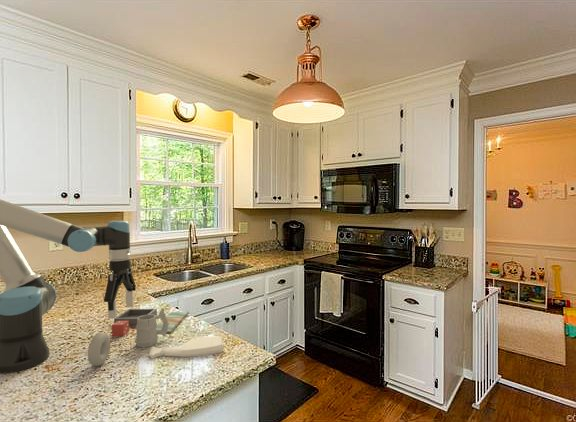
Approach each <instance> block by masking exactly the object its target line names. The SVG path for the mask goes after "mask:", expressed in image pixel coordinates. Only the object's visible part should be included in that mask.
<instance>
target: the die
mask: <svg viewBox="0 0 576 422" xmlns="http://www.w3.org/2000/svg"><path fill="white" fill-rule="evenodd" d="M129 327H130V326H129V321H117V322H115V323H114V322H113V323H112V324H111V336H112V337H124V336H126V335H127V334H128V333H129V332H130V328H129Z"/></svg>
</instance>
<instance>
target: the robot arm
mask: <svg viewBox="0 0 576 422" xmlns="http://www.w3.org/2000/svg"><path fill="white" fill-rule="evenodd" d="M8 228H10V229H11V230H15V231H17V232H22V233H25V234H28V235H32V236H35V237H37V238H39V239H43V240H45V241H46V240H47V241H50V242H53V243H55V244H60V245H62V246H65V247H68V248H70V250H72V251H74V252H77V253H83V252H87V251H90V250H92V249H93V247H103V246H108V259H109V261H108V263H109V266H108V267H109V270H110V271H111V272H112V274H108V275H107V285H106V288H105V293H104V298H103V302H104V303H107V319H109V320H111V319H113V320H114V319H115V318H117V317H118V315H117V313H118V312H117V301H116V298H117V294H118V291H119V289H120V286H121V285H123V287H125V290H126V291H125V306H126V308H133V307H134V291H135V292H136V287H137V286H136V281H135V279H134V276H133V272H132V271H133V270H132V268H131V267H132V266H131V264H132V263H131V252H132V251H131V237H130V236H131V232H130V223H129V222H128V221H127V220H111V221H108V223H107V225H106V226H86V227H85V226H78V225H75V224H72V223H70V222H68V221H67V222H66V221H64V220H60V219H58V218H55V217H52V216H49V215H45V214H44V213H40V212H39V211H38V212H37V211H34V210H32V209H29V208H26V207H24V206H20V205H17V204H15V203H12V202H9V201H6V200H3V199H0V278H1V280H2V281H3V283H4V284H5V288H4V290H3V292H2V293H0V374H10V373H15V372H16V373H17V372H20V371H24V370H27V369H29V368H33V367H35V366H38V365H40V364H42V363H43V362H45V361H46V360H47V359H48V358H49V357H50V348H49V346H48V344H47V342H46V340H45V336H44V335H43V316H44V315H45V314H46V313H47V312H49V311H50V310H51V309H52V308H53V306H54V304H55V303H56V300H57V291H56V288H55V286H54V285H52V284H51V283H49V282H48V281H46V280H45V278H44V277H43V275H42V274H41V273H36V272H35V271H34V270H33V269H32V267H31V265H30V264H29V262H28V260H27V259H26V257H25V255H24V254H23V252H22V250H21V248H20V247H19V246H18V244H17V242H16V240H15V239H14V237H13V236H12V234H11V232H10V231H9V229H8Z"/></svg>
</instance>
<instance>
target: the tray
mask: <svg viewBox="0 0 576 422" xmlns="http://www.w3.org/2000/svg"><path fill="white" fill-rule="evenodd" d="M148 314H152V315H155V316H158V308H128V309H127V310H125V311H124V312H122V313H120V314H119V315H117V318H115V319H113V324H114V323H115V322H117V321H129V327H136V325H137V318H138V317H139V316H142V315H148Z"/></svg>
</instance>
